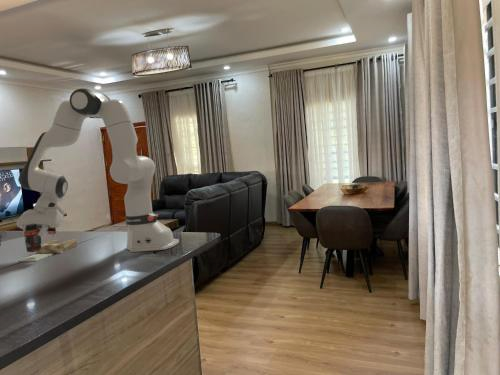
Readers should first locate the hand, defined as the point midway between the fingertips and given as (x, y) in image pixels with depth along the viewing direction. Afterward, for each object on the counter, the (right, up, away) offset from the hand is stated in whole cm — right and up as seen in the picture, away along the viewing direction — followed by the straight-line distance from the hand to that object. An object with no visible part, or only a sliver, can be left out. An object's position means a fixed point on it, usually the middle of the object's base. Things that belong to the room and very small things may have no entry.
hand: (31, 235), depth 162 cm
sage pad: (+1, -10, +2) cm, 10 cm away
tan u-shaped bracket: (+4, -8, +14) cm, 16 cm away
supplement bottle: (+1, -7, +1) cm, 7 cm away
